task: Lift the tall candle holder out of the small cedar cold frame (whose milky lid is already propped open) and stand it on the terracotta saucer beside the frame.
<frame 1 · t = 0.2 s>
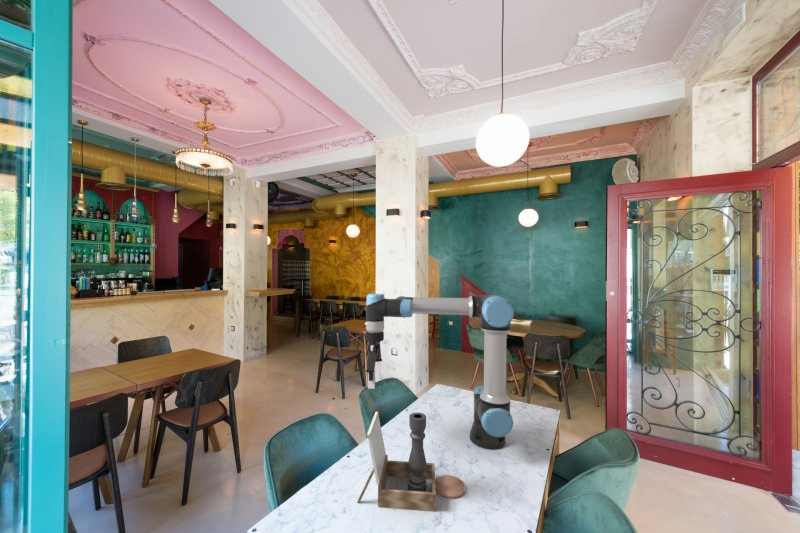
hand: (374, 382, 128), 28 cm above the table, fingers open, 13 cm apart
candle holder: (417, 492, 103), resting in cold frame
saucer: (449, 488, 105), on the table
frame lid: (381, 489, 104), resting on cold frame
cold frame: (408, 491, 103), on the table
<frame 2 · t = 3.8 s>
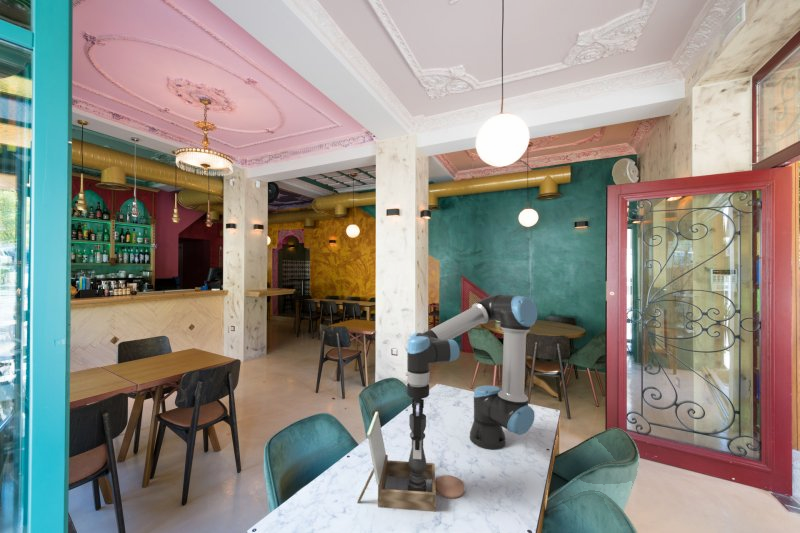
hand: (417, 453, 103), 13 cm above the table, fingers closed on candle holder, 5 cm apart
candle holder: (417, 492, 103), resting in cold frame, touching gripper
when the fingers open (15 cm above the table, at t = 8.8 s): candle holder drops 1 cm, resting on saucer.
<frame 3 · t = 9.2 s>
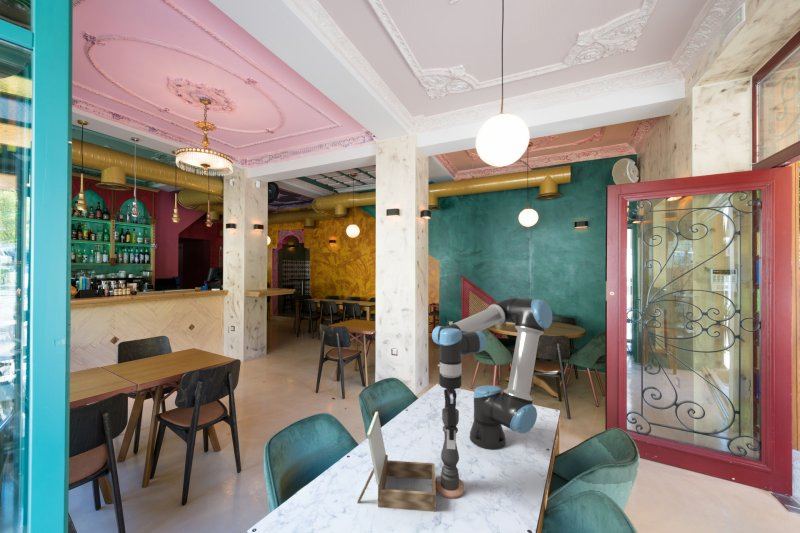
hand: (449, 439, 105), 16 cm above the table, fingers open, 10 cm apart
candle holder: (449, 484, 105), point 1 cm above the table, touching saucer
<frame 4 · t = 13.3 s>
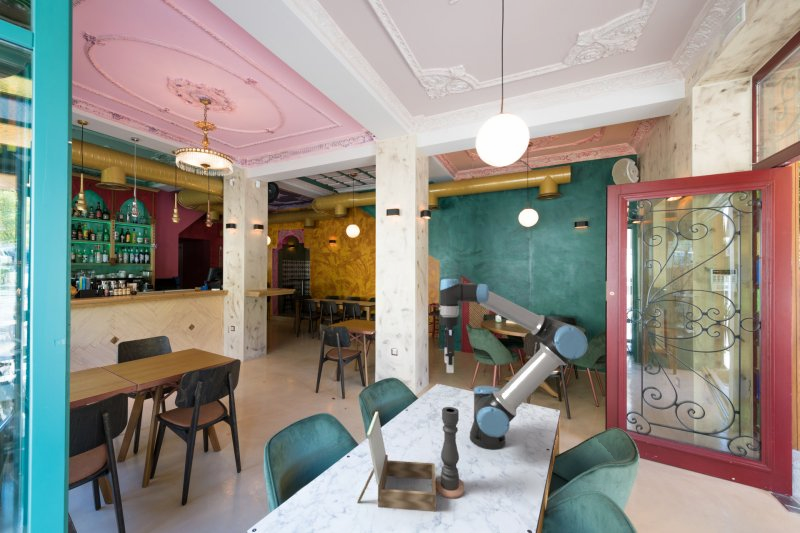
hand: (448, 367, 127), 35 cm above the table, fingers open, 13 cm apart
nothing on the table moved.
at the end: candle holder 0.1 cm from the saucer (horizontally); candle holder tilted 0°; candle holder point 1.0 cm above the table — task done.
